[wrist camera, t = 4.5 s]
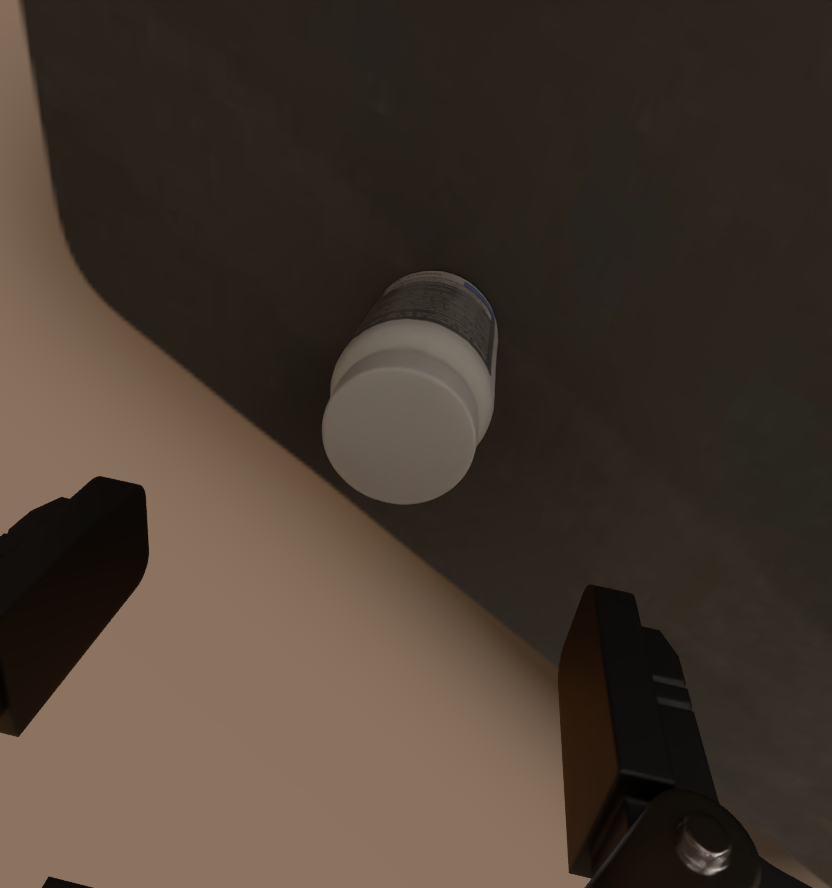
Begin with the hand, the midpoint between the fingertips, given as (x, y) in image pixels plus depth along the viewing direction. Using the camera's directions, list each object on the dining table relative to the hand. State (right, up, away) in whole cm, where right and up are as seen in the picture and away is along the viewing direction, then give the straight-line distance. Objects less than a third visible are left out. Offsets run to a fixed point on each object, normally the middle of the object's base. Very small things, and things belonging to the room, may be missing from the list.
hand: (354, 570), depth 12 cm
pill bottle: (+2, +6, +12) cm, 14 cm away
